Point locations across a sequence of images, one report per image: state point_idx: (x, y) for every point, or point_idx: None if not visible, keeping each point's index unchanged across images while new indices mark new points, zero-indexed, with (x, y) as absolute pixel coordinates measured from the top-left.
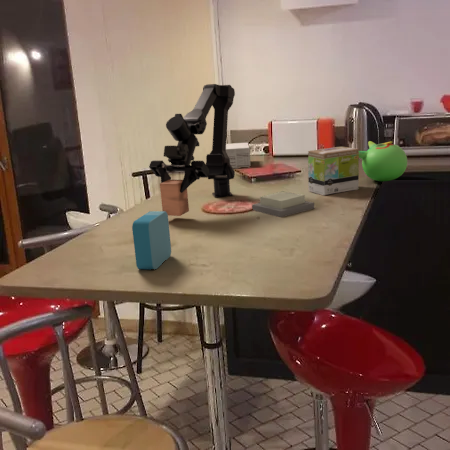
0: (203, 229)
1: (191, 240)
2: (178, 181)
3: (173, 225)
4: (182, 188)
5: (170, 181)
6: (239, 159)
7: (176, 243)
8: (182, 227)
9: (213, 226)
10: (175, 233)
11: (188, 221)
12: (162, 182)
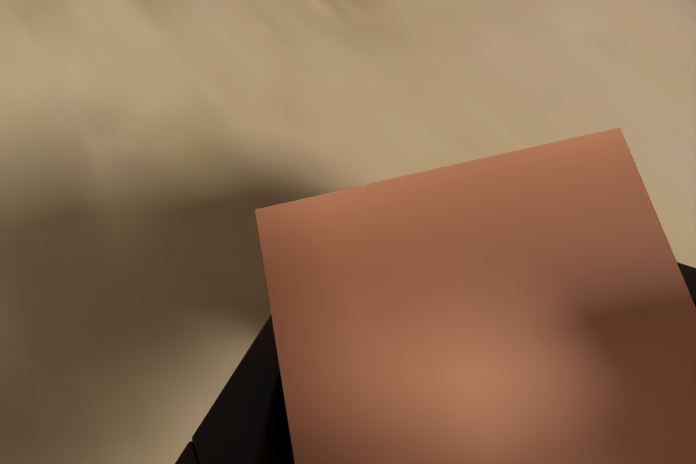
0: (136, 211)
1: (99, 57)
2: (384, 420)
3: None
4: (267, 326)
5: (568, 365)
6: None
7: (138, 4)
8: (263, 196)
9: (114, 277)
10: (231, 104)
11: None
12: (660, 227)
